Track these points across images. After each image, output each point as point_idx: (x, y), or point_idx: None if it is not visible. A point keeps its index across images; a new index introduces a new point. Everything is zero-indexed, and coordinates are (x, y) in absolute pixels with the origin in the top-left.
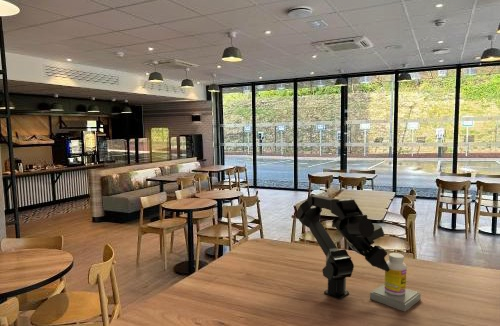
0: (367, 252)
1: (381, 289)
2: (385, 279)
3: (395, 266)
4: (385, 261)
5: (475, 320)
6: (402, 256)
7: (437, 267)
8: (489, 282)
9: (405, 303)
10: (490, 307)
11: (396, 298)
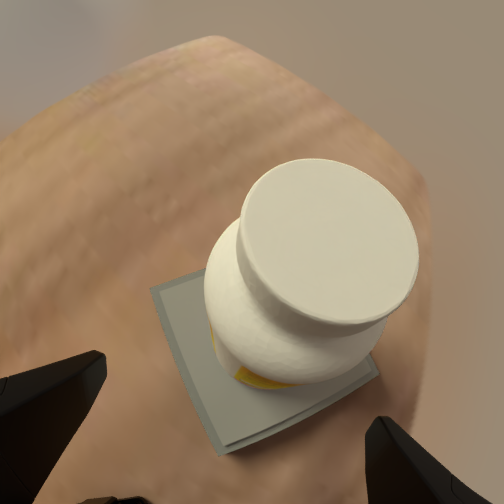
0: (27, 451)
1: (216, 385)
2: (255, 384)
3: (377, 337)
4: (464, 487)
5: (426, 210)
6: (385, 197)
7: (142, 76)
8: (259, 60)
9: (369, 363)
10: (369, 133)
11: (329, 379)
